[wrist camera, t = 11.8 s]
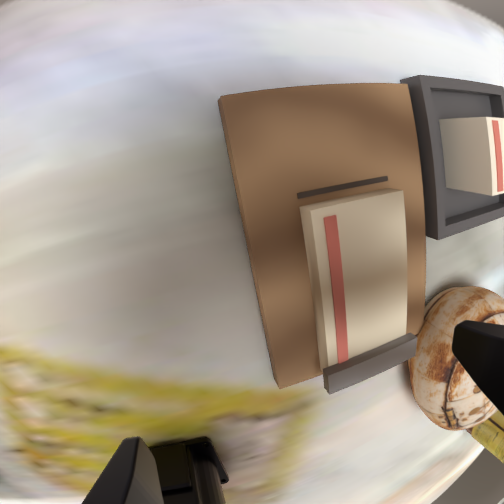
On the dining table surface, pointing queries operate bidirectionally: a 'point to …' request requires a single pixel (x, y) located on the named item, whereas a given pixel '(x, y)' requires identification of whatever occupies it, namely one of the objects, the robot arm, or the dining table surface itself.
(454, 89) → the tray
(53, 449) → the dining table surface
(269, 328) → the board
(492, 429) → the sauce bottle
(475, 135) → the stub
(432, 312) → the trinket box
